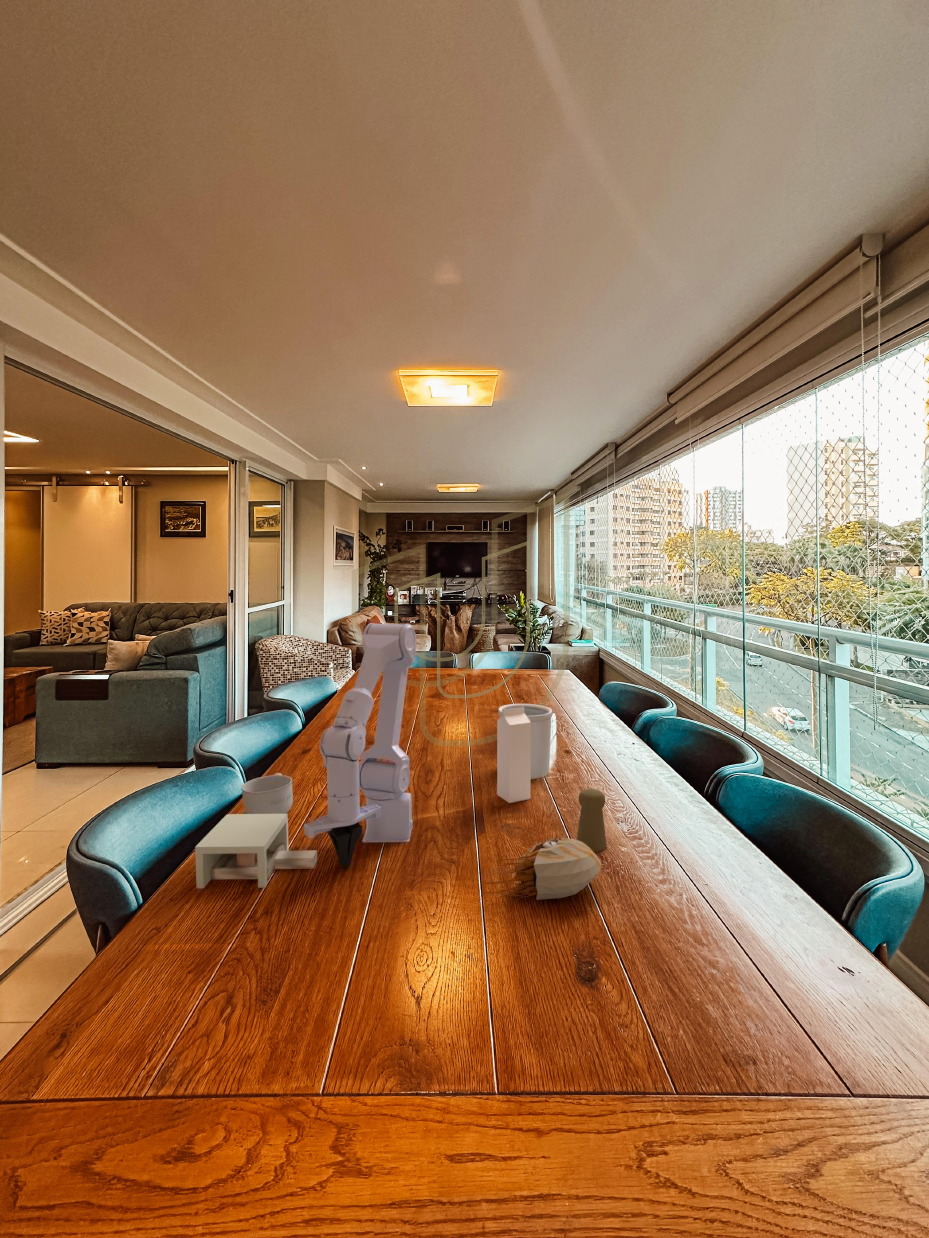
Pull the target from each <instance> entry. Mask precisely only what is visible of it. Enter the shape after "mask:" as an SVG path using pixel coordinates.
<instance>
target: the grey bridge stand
mask: <svg viewBox="0 0 929 1238" xmlns="http://www.w3.org/2000/svg"><path fill="white" fill-rule="evenodd" d="M288 815H289V813H286V814H246V813H236V814H235V813H227V814H226V815H224V817H223V818H221V820H220V821H218V823H217V824H216V825H215V826H214V827H213V828H212V829H211V830H210V831H209V832H208V833H207V834H206V835H205V836H204V837H203V838H202V839H201V840H200V842H198V844H196V846H195V847H194V850H195V855H194V856H195V877H196V878H195V879H196V881H195V882H196V883H195V884H196V885H195V887H196V889H205V887H206V886H207V885H208V884H209V882H211V880H213V879H212V876H211V869H212V868H213V867H214V866H215V864H216V863H217V862H218V861H219V860H220V858H221V857H222V856H223V855H224V854H229V853H257V860H258V879H257V888H258V889H259V888H261V889H264V888H266V887H267V885H268V879H267V859H266V850H267V849H268V847H269V846H270V844H271V843H285V851H290V849H289V822H288V821H289V818H288Z"/></svg>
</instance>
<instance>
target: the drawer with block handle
mask: <svg viewBox="0 0 929 1238" xmlns="http://www.w3.org/2000/svg"><path fill="white" fill-rule="evenodd" d="M266 859H267V880H268V879H270V877H271V876H272V874H273V872H274V871H275V870H294V869H295V870H296V869H297V870H299V869H301V870H302V869H304V870H306V869H307V870H309V869H312V870H313V869H315V866H316V864H317V862H318V850H315V849H313V850H288V851H285V843H271V844H270V846H269V847H268V849H267V850H266ZM211 876H212V879H211V880H258V861H257V862H255V867H237V853H229V854H224V855H223V856H222V857H221V858H220V860H219V861H218V862H217V863H216V864H215V866H214V867H213V868H212V869H211Z"/></svg>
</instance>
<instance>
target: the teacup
mask: <svg viewBox="0 0 929 1238" xmlns="http://www.w3.org/2000/svg"><path fill="white" fill-rule="evenodd" d="M240 790H241V791H242V802H243V808H244V812H245V814H287V813H288V812H289V810H290V809H291V808H292V807H293V802H294V801H293V800H294V797H293V796H294V795H293V778H292V777H291V776H288V775H284V774H282V773H280V772H276V773H274V774H273V775H265V776H261V777H256V778H253V779H251V780H248V781H246V782H245V783H242V785H241V789H240Z"/></svg>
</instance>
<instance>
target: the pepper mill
mask: <svg viewBox="0 0 929 1238" xmlns="http://www.w3.org/2000/svg"><path fill="white" fill-rule="evenodd" d="M578 803H579V805H580V807H581V808H580V815H579V821H578V827H577V828H578V829H577V835H576V840H578V841H581V842H583V843H585V844H586V845H587V846H588V847H589V848H590V849H591V850H592V851H593V852H602V851H604V850H606V849H607V847H608V845H607V844H608V843H607V836H606V828H605V819H604V812H603V808H604V807H605V804H606V797H605V794H604V792H603V791H601V790H599V789H595V788H585V789H583V790H581V791H580V792H579V795H578Z"/></svg>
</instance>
